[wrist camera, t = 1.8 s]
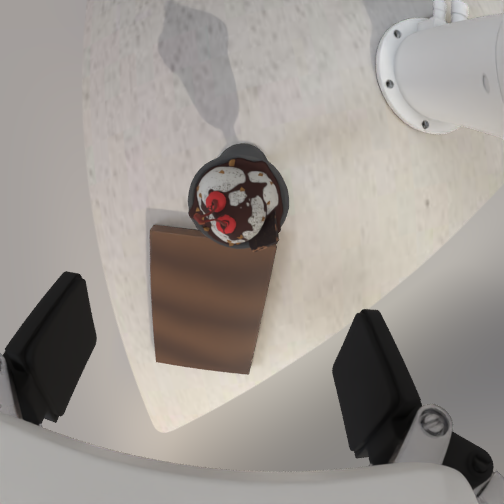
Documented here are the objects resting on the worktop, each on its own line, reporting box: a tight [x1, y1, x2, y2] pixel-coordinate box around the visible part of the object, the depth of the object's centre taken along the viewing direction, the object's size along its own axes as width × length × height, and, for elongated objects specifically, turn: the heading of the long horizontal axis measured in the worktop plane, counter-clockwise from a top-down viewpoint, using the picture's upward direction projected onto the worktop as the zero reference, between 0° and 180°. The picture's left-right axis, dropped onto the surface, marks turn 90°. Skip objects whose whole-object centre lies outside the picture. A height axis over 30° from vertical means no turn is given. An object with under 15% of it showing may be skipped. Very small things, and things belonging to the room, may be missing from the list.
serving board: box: [150, 225, 277, 374], centre depth 36 cm, size 20×13×2 cm, turn 172°
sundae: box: [188, 144, 289, 252], centre depth 23 cm, size 7×7×15 cm
